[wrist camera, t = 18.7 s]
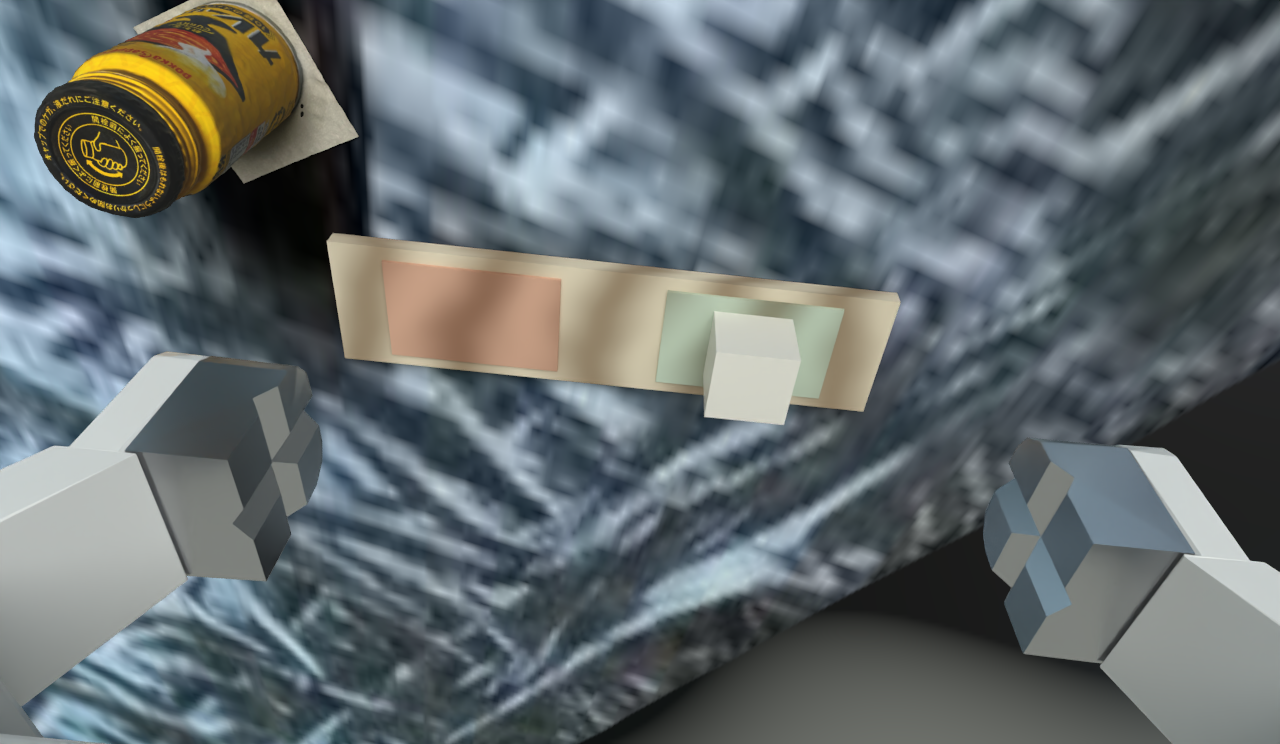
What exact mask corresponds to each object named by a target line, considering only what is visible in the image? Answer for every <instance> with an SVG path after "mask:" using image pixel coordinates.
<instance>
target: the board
mask: <svg viewBox="0 0 1280 744" xmlns="http://www.w3.org/2000/svg"><path fill="white" fill-rule="evenodd" d="M327 247H328V253H329V260H330V266H331V272H332V278H333V285H334V291H335V297H336V304H337V310H338V316H339V322H340V329H341V335H342V341H343V348H344V354H345V358H349V359H359V360H369V361H378V362H388V363H398V364H408V365H417V366H427V367H437V368H446V369H456V370H466V371H475V372H485V373H495V374H504V375H514V376H524V377H533V378H543V379H553V380H562V381H572V382H582V383H591V384H601V385H611V386H620V387H630V388H640V389H649V390H659V391H669V392H678V393H688V394H698V395H704V388H703V372H704V366H705V361H706V355H707V350H708V344H709V338H710V333H711V327H712V322H713V316H714V311H718V312H728V313H737V314H746V315H756V316H765V317H775V318H784V319H793V322H794V327H795V332H796V337H797V343H798V348H799V353H800V358H801V363H800V367H799V370H798V374H797V378H796V381H795V385H794V389H793V393H792V396H791V400H790V404H795V405H804V406H814V407H824V408H833V409H843V410H853V411H862V412H863V411H864V408H865V405H866V402H867V399H868V396H869V393H870V390H871V387H872V384H873V381H874V379H875V376H876V373H877V370H878V367H879V364H880V361H881V358H882V355H883V352H884V349H885V347H886V344H887V341H888V338H889V335H890V332H891V329H892V326H893V323H894V320H895V317H896V315H897V312H898V309H899V306H900V303H901V302H900V299H899V297H898V294H897V293H892V292H883V291H873V290H864V289H854V288H845V287H836V286H826V285H817V284H807V283H798V282H789V281H779V280H770V279H760V278H751V277H742V276H732V275H723V274H713V273H704V272H695V271H685V270H676V269H666V268H657V267H648V266H638V265H629V264H619V263H610V262H601V261H591V260H582V259H572V258H563V257H554V256H544V255H535V254H525V253H516V252H507V251H497V250H488V249H478V248H469V247H460V246H450V245H441V244H431V243H422V242H413V241H403V240H394V239H384V238H375V237H366V236H356V235H347V234H337V233H333V234H332V235H331V236H330V238H329V239H328V240H327Z"/></svg>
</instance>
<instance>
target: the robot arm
mask: <svg viewBox="0 0 1280 744" xmlns="http://www.w3.org/2000/svg"><path fill="white" fill-rule="evenodd" d="M311 397H312V392H311V388H310V385H309V381H308V377H307V373H306V372H305V371H303V370H302V369H301V368H299V367H298V366H290V365H282V364H273V363H265V362H257V361H248V360H240V359H232V358H223V357H215V356H211V357H207V356H201V355H192V354H184V353H175V352H164V353H161V354H158V355H155V356H153V357H152V358H151V359H150V360H149V361H148V362H147V363H146V364H145V366H144V367H143V368H142V369H141V370H140V371H139V372H138V373H137V374H136V375H135V376H134V377H133V378H132V380H131V381H130V382H129V383H128V384H127V385H126V386H125V387H124V388H123V389H122V390H121V391H120V393H119V394H118V395H117V396H116V397H115V398H114V399H113V400H112V401H111V402H110V403H109V404H108V405H107V407H106V408H105V409H104V410H103V411H102V412H101V413H100V414H99V415H98V416H97V417H96V418H95V419H94V421H93V422H92V423H91V424H90V425H89V426H88V427H87V428H86V429H85V430H84V431H83V432H82V434H81V435H80V436H79V437H78V438H77V439H76V440H75V441H74V442H73V443H72V444H71V445H70V446H69V447H63V446H52V447H50V448H48V449H46V450H43V451H41V452H39V453H37V454H34V455H32V456H30V457H28V458H25V459H23V460H21V461H19V462H16V463H14V464H12V465H10V466H8V467H5V468H3V469H1V470H0V744H104V743H93V742H83V741H72V740H61V739H51V738H43V736H42V735H41V734H40V732H39V731H38V729H37V728H36V727H35V725H34V724H33V723H32V721H31V720H30V718H29V717H28V716H27V714H26V713H25V712H24V710H23V709H22V707H21V706H23V705H24V704H25V703H27V702H28V701H29V700H31V699H32V698H33V697H35V696H36V695H37V694H38V693H40V692H41V691H42V690H44V689H45V688H46V687H48V686H49V685H50V684H52V683H53V682H54V681H56V680H57V679H58V678H60V677H61V676H62V675H63V674H65V673H66V672H67V671H69V670H70V669H71V668H73V667H74V666H75V665H77V664H78V663H79V662H81V661H82V660H83V659H85V658H86V657H87V656H89V655H90V654H91V653H92V652H94V651H95V650H96V649H98V648H99V647H100V646H102V645H103V644H104V643H106V642H107V641H108V640H110V639H111V638H112V637H114V636H115V635H116V634H117V633H119V632H120V631H121V630H123V629H124V628H125V627H127V626H128V625H129V624H131V623H132V622H133V621H135V620H136V619H137V618H139V617H140V616H141V615H142V614H144V613H145V612H146V611H148V610H149V609H150V608H152V607H153V606H154V605H156V604H157V603H158V602H160V601H161V600H162V599H164V598H165V597H166V596H167V595H169V594H170V593H171V592H173V591H174V590H175V589H177V588H178V587H179V586H181V585H182V584H183V583H185V582H186V581H187V579H188V578H187V576H197V577H212V578H226V579H241V580H255V581H267V579H268V577H269V575H270V573H271V571H272V570H273V568H274V566H275V564H276V562H277V560H278V558H279V556H280V555H281V553H282V551H283V549H284V547H285V545H286V543H287V541H288V539H289V538H290V536H291V531H290V527H289V523H288V519H287V517H288V516H289V515H291V514H292V513H294V512H295V511H297V510H299V509H300V508H302V507H303V506H305V505H307V503H308V501H309V499H310V497H311V495H312V493H313V491H314V489H315V487H316V485H317V481H318V477H319V472H320V468H321V464H322V439H321V434H320V429H319V425H318V424H317V423H316V422H315V421H314V420H313V419H312V418H311V417H310V416H309V415H308V414H307V413H306V412H305V411H304V409H305V407H306V405H307V404H308V402H309V400H310V399H311ZM1009 465H1010V467H1011V470H1012V472H1013V474H1014V477H1015V479H1013V480H1011V481H1010V482H1008V483H1007V484H1005V485H1003V486H1002V487H1000V488H999V489H997V490H995V492H994V494H993V496H992V498H991V501H990V503H989V505H988V507H987V510H986V513H985V522H984V532H983V536H984V543H985V550H986V554H987V557H988V560H989V563H990V566H991V569H992V571H994V572H995V573H996V574H997V575H998V576H999V577H1000V578H1002V579H1003V580H1004V581H1005V582H1006V583H1007V584H1008V585H1010V587H1011V590H1010V592H1009V594H1008V596H1007V598H1006V600H1005V602H1004V604H1005V607H1006V609H1007V611H1008V615H1009V617H1010V620H1011V622H1012V625H1013V628H1014V630H1015V633H1016V636H1017V638H1018V641H1019V644H1020V646H1021V649H1022V652H1023V654H1030V655H1038V656H1046V657H1054V658H1063V659H1070V660H1079V661H1087V662H1096V663H1102V664H1101V666H1100V668H1101V669H1102V670H1103V671H1104V672H1105V673H1106V674H1107V675H1108V676H1109V677H1110V678H1111V679H1112V680H1113V681H1114V682H1115V683H1116V684H1117V685H1118V687H1119V688H1120V689H1121V690H1122V691H1123V692H1124V693H1125V694H1126V695H1127V696H1128V697H1129V698H1130V699H1131V700H1132V701H1133V703H1134V704H1135V705H1136V706H1137V707H1138V708H1139V709H1140V710H1141V711H1142V712H1143V713H1144V714H1145V715H1146V716H1147V717H1148V718H1149V720H1151V722H1152V723H1153V724H1154V725H1155V726H1156V727H1157V728H1158V729H1159V730H1160V731H1161V732H1162V733H1163V734H1164V735H1165V736H1166V738H1167V739H1168V740H1169V741H1170V742H1171V743H1172V744H1280V572H1278V571H1277V570H1275V569H1274V568H1272V567H1271V566H1269V565H1268V564H1266V563H1264V562H1255V561H1250V560H1249V559H1248V558H1247V556H1246V555H1245V553H1244V552H1243V550H1242V549H1241V548H1240V546H1239V545H1238V543H1237V542H1236V540H1235V539H1234V538H1233V536H1232V535H1231V533H1230V532H1229V531H1228V529H1227V528H1226V526H1225V525H1224V523H1223V522H1222V521H1221V519H1220V518H1219V516H1218V515H1217V513H1216V512H1215V511H1214V509H1213V508H1212V506H1211V505H1210V504H1209V502H1208V501H1207V499H1206V498H1205V497H1204V495H1203V494H1202V492H1201V491H1200V490H1199V488H1198V487H1197V485H1196V484H1195V482H1194V481H1193V480H1192V478H1191V477H1190V475H1189V474H1188V472H1187V471H1186V469H1185V468H1184V467H1183V465H1182V464H1181V462H1180V461H1179V460H1178V458H1177V457H1176V456H1175V455H1173V454H1172V453H1170V452H1169V451H1167V450H1166V449H1164V448H1153V447H1140V446H1127V445H1116V446H1111V445H1102V444H1091V443H1080V442H1069V441H1058V440H1047V439H1036V438H1026V439H1025V440H1024V441H1023V442H1022V443H1021V444H1020V445H1019V446H1017V448H1016V450H1015V452H1014V454H1013V456H1012V458H1011V460H1010V461H1009Z"/></svg>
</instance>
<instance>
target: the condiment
mask: <svg viewBox="0 0 1280 744" xmlns="http://www.w3.org/2000/svg"><path fill="white" fill-rule="evenodd" d="M133 28H134V29H135V30H136V32H137V33H138V35H137V36H135V37H133V38H131V39H128V40H127V41H125V42H123V43H120V44H118V45H117V46H114V47H113V48H111V49H109V50H107V51H104V52H102V53H98V54H97V55H95V56H93V57H91V58H90V59H88V60H87V61H86V62H84V64H82V65H81V66H80V67H79V68H78V69H77V70H76V71H75V73H74V76H73V77H72V80H70V81H69V82H68V83H66V84H64V85H62V86H59V87H56V88H55V89H54V90H53V91H52V92H50V93H48V95H47V96H46V98H45V99H44V100H43V101H42V104H41V105H40V107H39V108H38V110H37V113H36V118H35V133H34V138H35V141H36V143H37V147H38V150H39V152H40V154H41V156H42V158H43V161H44V163H45V164H46V166H47V168H48V170H49V171H50V172H51V174H52V175H53V176H54V178H55V179H56V180H57V181H58V182H59V183H60V184H61V185H62V186H63V188H64V189H65V190H66V191H68V192H69V193H70V194H72V195H73V196H74V197H75V198H76V199H78V200H79V201H81V202H83V203H85V204H86V205H88V206H90V207H92V208H95V209H98V210H101V211H104V212H108V213H111V214H114V215H120V216H126V217H132V218H139V217H145V216H149V215H152V214H155V213H157V212H160V211H162V210H164V209H166V208H168V207H169V206H171V204H172V203H173V202H174V201H175V200H178V199H180V198H181V197H185V196H188V195H193V194H196V193H198V192H199V191H201V190H203V189H205V188H206V187H207V186H208V185H209V184H211V183H212V182H213V181H214V180H215V179H217V178H218V177H219V176H220V175H222V174H223V173H225V172H226V171H227V170H228V169H229V168H230V167H232V168H233V170H234V171H235V172H236V173H237V175H238V176H239V177H240V179H241V180H242V182H243V183H246V182H249V181H251V180H254V179H256V178H258V177H260V176H262V175H265V174H267V173H270V172H272V171H274V170H277V169H279V168H282V167H284V166H286V165H289V164H291V163H294V162H296V161H299V160H301V159H304V158H306V157H308V156H310V155H313V154H316V153H319V152H321V151H324V150H326V149H329V148H331V147H333V146H336V145H338V144H341V143H344V142H346V141H349V140H351V139H354V138H356V137H359V136H358V134H357V133H356V131H355V129H354V128H353V126H352V125H351V124H350V122H349V120H348V119H347V117H346V115H345V113H344V111H343V110H342V108H341V106H340V105H339V104H338V102H337V101H336V99H335V97H334V95H333V94H332V92H331V90H330V89H329V87H328V85H327V84H326V82H325V81H324V79H323V77H322V75H321V73H320V72H319V70H318V69H317V67H316V65H315V63H314V62H313V60H312V58H311V56H310V54H309V53H308V51H307V49H306V47H305V46H304V44H303V42H302V41H301V39H300V38H299V36H298V34H297V33H296V31H295V30H294V28H293V26H292V24H291V23H290V21H289V20H288V18H287V16H286V14H285V13H284V11H283V9H282V8H281V6H280V4H279V3H278V2H277V0H189V1H187V2H185V3H183V4H181V5H179V6H177V7H174V8H172V9H170V10H168V11H166V12H164V13H162V14H160V15H159V16H156V17H154V18H152V19H150V20H148V21H146V22H144V23H142V24H139V25H137V26H135V27H133ZM301 104H303V105H304V107H303V108H301V107H300V105H301ZM301 111H303V112H304V116H303V117H301V115H300V113H301Z"/></svg>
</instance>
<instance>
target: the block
mask: <svg viewBox="0 0 1280 744" xmlns="http://www.w3.org/2000/svg"><path fill="white" fill-rule="evenodd" d="M800 363H801V358H800V353H799V348H798V343H797V337H796V332H795V327H794V322H793V319H784V318H775V317H765V316H756V315H746V314H737V313H728V312H718V311H714V316H713V322H712V327H711V333H710V338H709V344H708V350H707V355H706V361H705V366H704V372H703V388H704V417H711V418H720V419H730V420H740V421H749V422H759V423H769V424H778V425H784V422H785V419H786V415H787V411H788V407H789V404H790V400H791V396H792V393H793V389H794V385H795V381H796V378H797V374H798V370H799V367H800Z"/></svg>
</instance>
